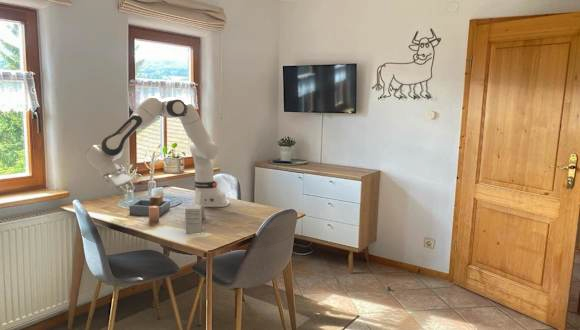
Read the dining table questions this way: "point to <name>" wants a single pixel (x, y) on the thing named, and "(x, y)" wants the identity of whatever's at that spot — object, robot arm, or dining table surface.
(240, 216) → the dining table surface
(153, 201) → the walnut block
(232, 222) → the dining table surface
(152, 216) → the ball
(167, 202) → the box
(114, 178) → the robot arm
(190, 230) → the supplement box
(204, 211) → the round bodied animal figurine
